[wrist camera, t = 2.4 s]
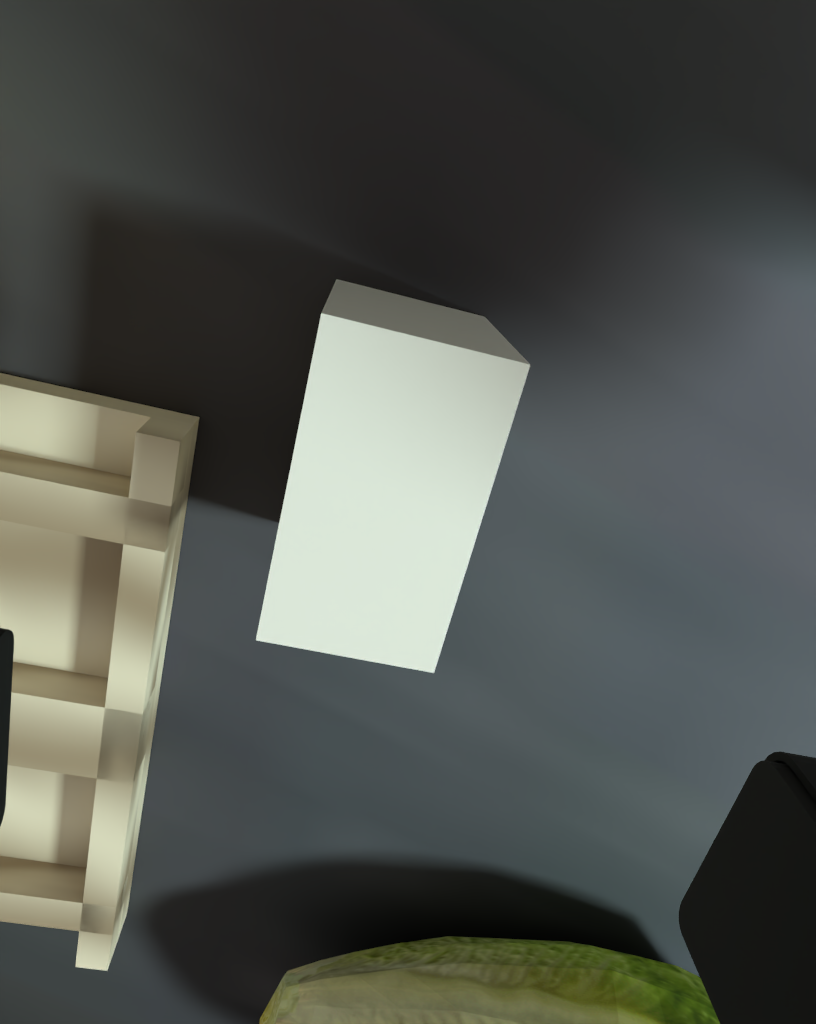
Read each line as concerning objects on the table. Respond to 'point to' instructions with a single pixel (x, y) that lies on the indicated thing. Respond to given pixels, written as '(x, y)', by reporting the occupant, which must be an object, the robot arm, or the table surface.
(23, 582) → the slot board
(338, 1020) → the lettuce
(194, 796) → the table surface
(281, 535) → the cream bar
